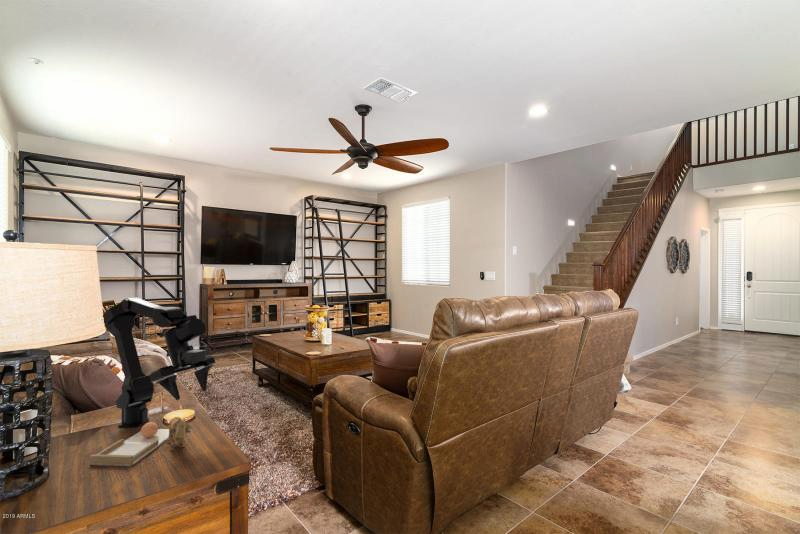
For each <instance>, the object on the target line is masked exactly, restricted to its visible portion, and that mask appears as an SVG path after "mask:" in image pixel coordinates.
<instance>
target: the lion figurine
mask: <svg viewBox="0 0 800 534" xmlns="http://www.w3.org/2000/svg"><path fill="white" fill-rule="evenodd" d="M193 428H194V426H192V425H190V424H189V423H188V421H187V419H181V417H179V416H174V417H172V418H171V420H170V422H169V426H168V429H169V437H168V439H167V440H166V442H170V443H169V445H170V448H169V451H171V452H173V451H175V442H178V447H179V448H181V447H183V448H184V447H185V444H184V438H186V436H187V434H190V433H192V430H193ZM181 449H182V448H181ZM172 450H173V451H172Z"/></svg>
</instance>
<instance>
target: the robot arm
mask: <svg viewBox="0 0 800 534" xmlns="http://www.w3.org/2000/svg"><path fill="white" fill-rule="evenodd" d="M139 315H141V316H143V317H146V318H148V319H151V320H152V323H153V325H156V326H158V327H159V328H163V329H162V331H161V333H160V334H159V338H164V340H165V344H166V349H167V351H168V352H167V353H165V355H166V357H167V358H170V362H171V365H168V366H164V367H160V368H158V369H156V370H153V371H151V372H150V374H148V375H146V373H144V372H143V369H142V366H141V361H140V358H139V354H138V351H137V346H136V342H135V340H134V339H135V338H134V335H133V330H134V326H135V324H136V321H135V320H136V319H135V318H137V317H138V316H139ZM102 317H104V322H103V323H105V324H104V327H105V328H106V331H107V332H108V333H110V334H111V335H112V336H113V337H114V341H115V344H116V348H117V352H118V355H119V356H118V357H119V358H120V364H121V368H122V371H123V375H124V380H123V382H122V384H121V394H120V395H119V396H118V398H117V399H116V400H115V405H116V408H117V409H120V410H121V423H119V424H117V427H118V428H119V427H120V428H123V427H124V428H138V427H140V426H142V425H143V424H146V423H147V422H149V420H150V417H148V415H149V414H148V411H149V410H148V408H147V404H148V403H152V399H153V396H154V392H155V385H154V383H155V384H156V385H158V384H159V385H160V386H161V387H162V388H163V389H165V390H166V391H167V393H169V394H170V395H171V396H172V397H173V398H174V399H175V400H176V401H178V400H180V399H181V397H180V392H179V388H178V384H177V376H178V374H177V373H181V372H187V371H189V370H195V371H194V375H195V378H196V380H197V382H198V384H199V387H200V389H201V390H202V392H206V391H207V387H208V386H207V385H208V376H209V371H211V368H213V367H214V364H216V363H217V362H216V359H215V357H214V356H213V355H210V354H211V352H210V347H209V346H208V345H201V346H199V348H197V349H194V346H193V345H192V344H191V345H189V342H190V341H192V340H195V339H197V338H199V337H201V336H203V335H204V334H205V333H206V323H204V322H203V321H202V320H201V319H200V318H197V315H196V314H191V315H187V314H186V313H185V312H184V311H183V309H182V308H181V307H178V306H161V305H158V304H156V303H153V302H150V301H147V300H143V299H142V298H140V297H129V298H127V297H126V298H124V299H122V300H121V301H120V302H119V303H117V304H115V305H113V306H111V307H110V308H108V309H107V310H106V311H105V312H104V313H103V315H102Z"/></svg>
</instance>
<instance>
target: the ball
mask: <svg viewBox="0 0 800 534" xmlns="http://www.w3.org/2000/svg"><path fill="white" fill-rule="evenodd" d="M158 429H159V426H158V424H157V423H156V422H154V421H148V422H145V423H144V425H142V427H141V430H140V431H141V434H142V435H143V436H144V437H146V438H150V437H153V436H154V435H155V434H156V433H157V431H158Z"/></svg>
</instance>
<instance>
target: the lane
mask: <svg viewBox="0 0 800 534" xmlns="http://www.w3.org/2000/svg"><path fill="white" fill-rule="evenodd" d="M168 437H169V428H158V431H157V433H156V434H155V435H154V436H153V437H150V438H146V437H144V436H143V435H142V434H141V430H140V431H138V432H137V433H135V434H133V435H132V436H130V437H128V438H127V439H126V440H125V439H124V438H121V439H119V440H118V441H116V442H114V443H112V444H110V445H109V446H108V447H105V449H103V450H101V451H100V452H98V453H92V454H90V455H89V465H90V466H109V467H114V466H115V467H132V466H133V465H135V464H136V463H137V462H139V461H140V460H142V459H143V458H144V457H146V456H147V455H148V454H150V453H152V451H154V450H155V449H157V448H158V447H160V446H161V445H162V444H163V443H165V442H167V439H168Z"/></svg>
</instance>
